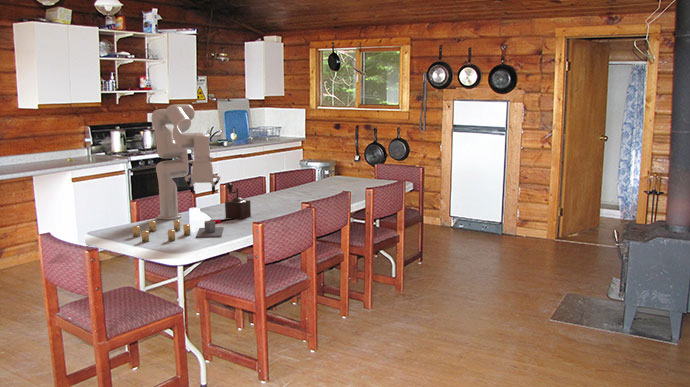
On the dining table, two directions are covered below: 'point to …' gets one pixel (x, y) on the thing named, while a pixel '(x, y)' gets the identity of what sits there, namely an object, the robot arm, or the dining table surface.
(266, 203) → the dining table surface
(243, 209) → the dark brown coffee grinder
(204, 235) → the mat
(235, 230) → the dining table surface
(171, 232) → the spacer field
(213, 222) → the dark grey block
